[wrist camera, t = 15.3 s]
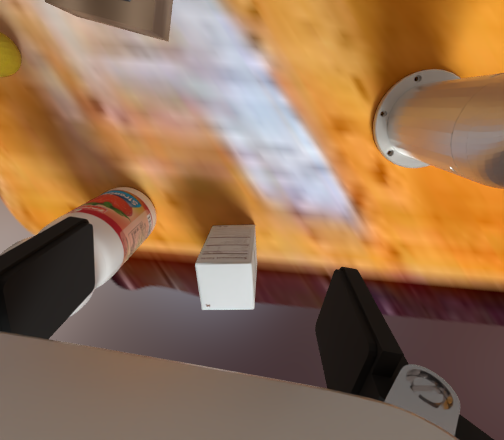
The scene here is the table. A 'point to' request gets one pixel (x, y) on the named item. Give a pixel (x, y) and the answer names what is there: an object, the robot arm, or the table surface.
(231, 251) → the supplement box
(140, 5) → the walnut block
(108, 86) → the table surface
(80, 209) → the fruit juice
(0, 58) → the lemon
